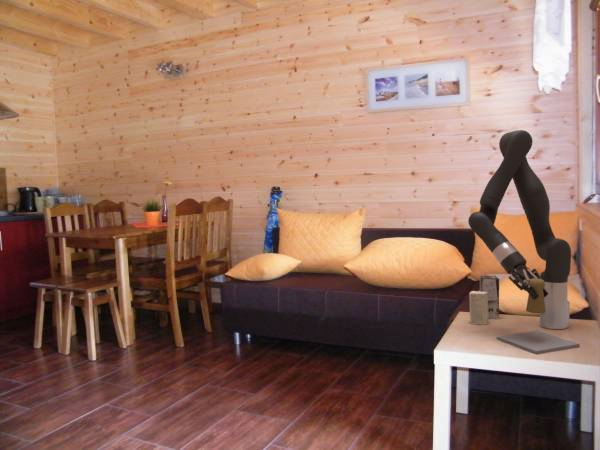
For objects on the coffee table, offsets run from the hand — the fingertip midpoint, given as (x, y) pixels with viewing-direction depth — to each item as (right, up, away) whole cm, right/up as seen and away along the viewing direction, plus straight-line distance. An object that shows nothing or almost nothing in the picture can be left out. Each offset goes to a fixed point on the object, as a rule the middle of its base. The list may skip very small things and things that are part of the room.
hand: (541, 296), depth 172 cm
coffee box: (-3, -14, +40) cm, 42 cm away
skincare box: (-11, -14, +30) cm, 35 cm away
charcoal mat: (-1, -16, +2) cm, 16 cm away
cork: (-1, -5, +2) cm, 6 cm away
